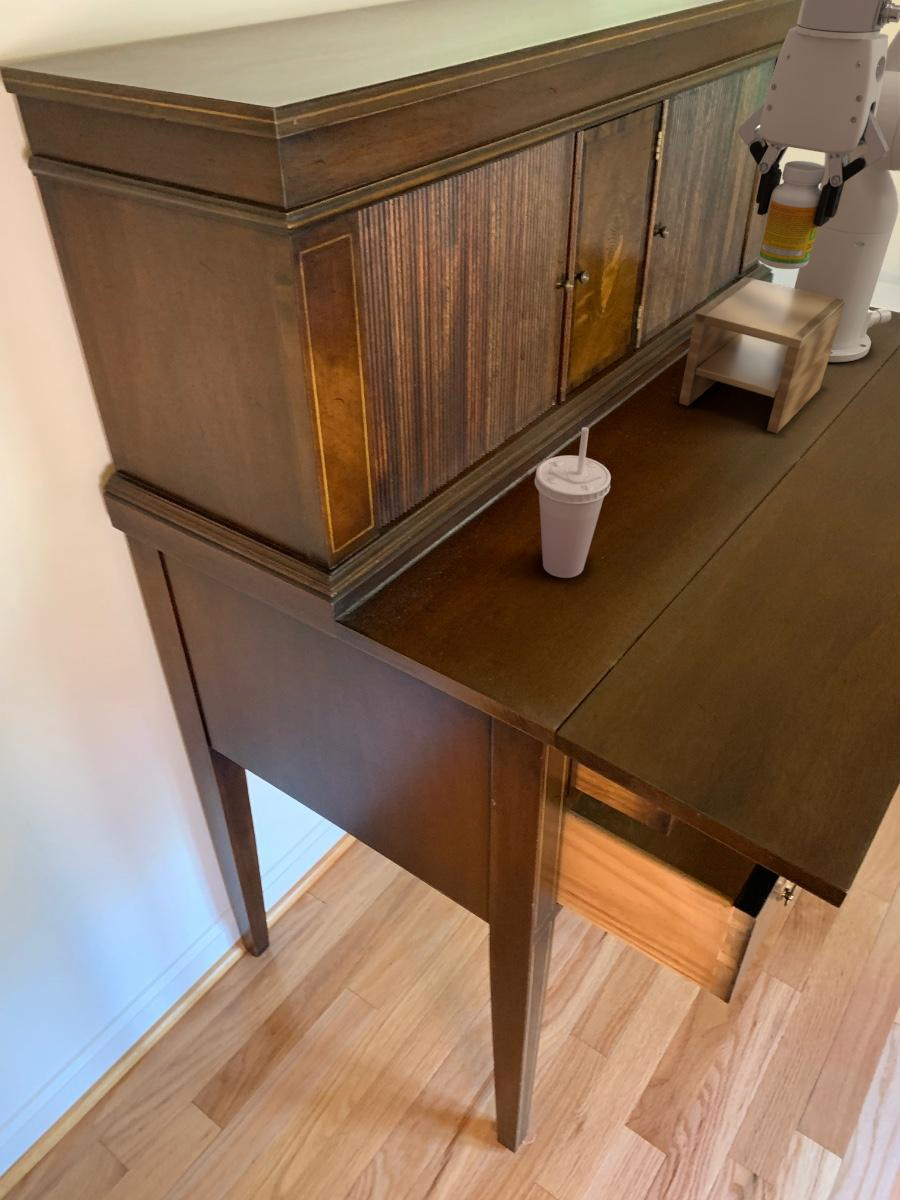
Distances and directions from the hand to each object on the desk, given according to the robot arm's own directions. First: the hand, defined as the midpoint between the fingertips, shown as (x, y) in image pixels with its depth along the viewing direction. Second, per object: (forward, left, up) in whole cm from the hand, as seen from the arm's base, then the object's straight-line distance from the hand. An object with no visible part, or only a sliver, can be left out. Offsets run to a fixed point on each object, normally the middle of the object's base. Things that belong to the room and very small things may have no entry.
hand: (793, 215), depth 97 cm
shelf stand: (0, 0, -21) cm, 21 cm away
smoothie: (+37, +21, -21) cm, 47 cm away
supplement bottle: (0, 0, -5) cm, 5 cm away
